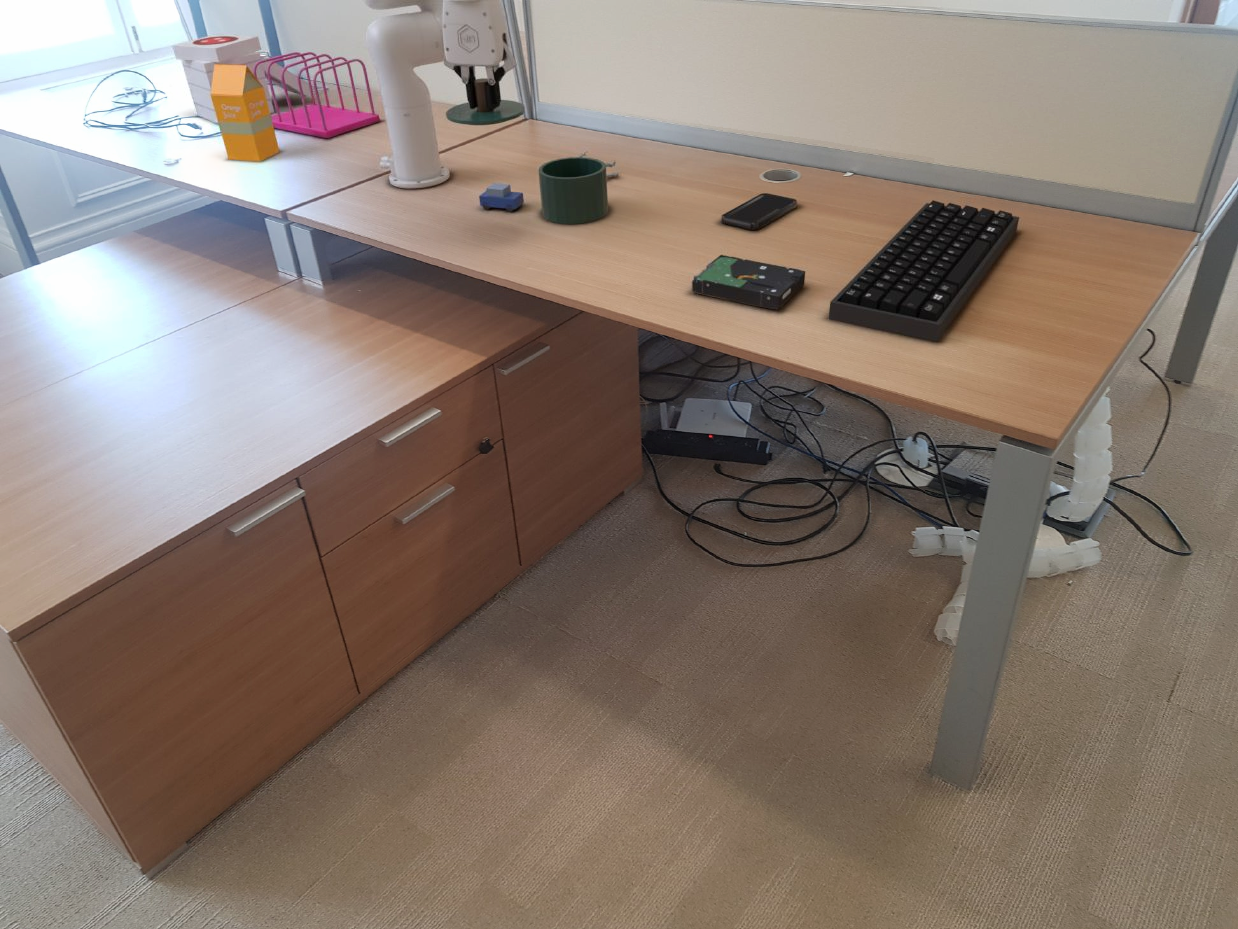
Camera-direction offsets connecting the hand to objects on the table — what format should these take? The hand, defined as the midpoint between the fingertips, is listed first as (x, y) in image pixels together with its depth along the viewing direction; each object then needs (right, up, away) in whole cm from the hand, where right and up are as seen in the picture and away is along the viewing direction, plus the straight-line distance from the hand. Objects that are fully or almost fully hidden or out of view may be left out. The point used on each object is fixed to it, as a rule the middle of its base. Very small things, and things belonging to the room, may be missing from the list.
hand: (485, 106), depth 159 cm
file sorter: (-53, +25, +78) cm, 98 cm away
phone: (+49, -15, +13) cm, 53 cm away
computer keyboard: (+72, -30, -10) cm, 79 cm away
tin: (+14, -13, +19) cm, 27 cm away
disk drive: (+43, -34, -12) cm, 56 cm away
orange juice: (-62, +11, +59) cm, 86 cm away
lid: (0, -1, +1) cm, 1 cm away
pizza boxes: (-76, +35, +94) cm, 126 cm away
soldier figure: (+17, -3, +33) cm, 37 cm away
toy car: (0, -11, +23) cm, 25 cm away
